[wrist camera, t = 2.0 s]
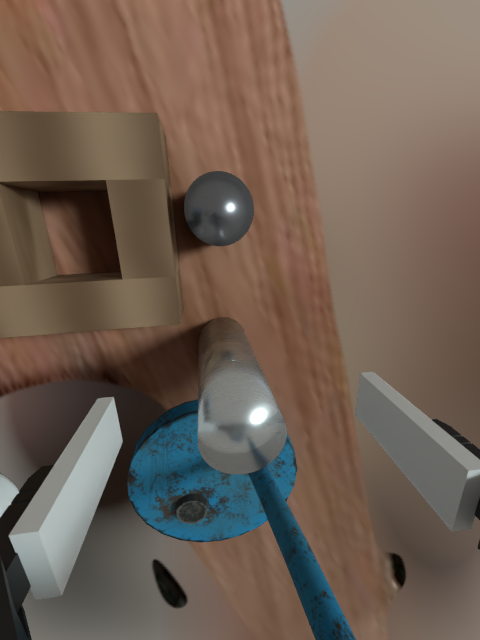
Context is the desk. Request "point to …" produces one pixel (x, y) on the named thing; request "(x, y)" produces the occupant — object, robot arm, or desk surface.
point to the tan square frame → (127, 214)
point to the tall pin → (235, 403)
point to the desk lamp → (227, 506)
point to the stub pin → (218, 208)
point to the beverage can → (6, 493)
